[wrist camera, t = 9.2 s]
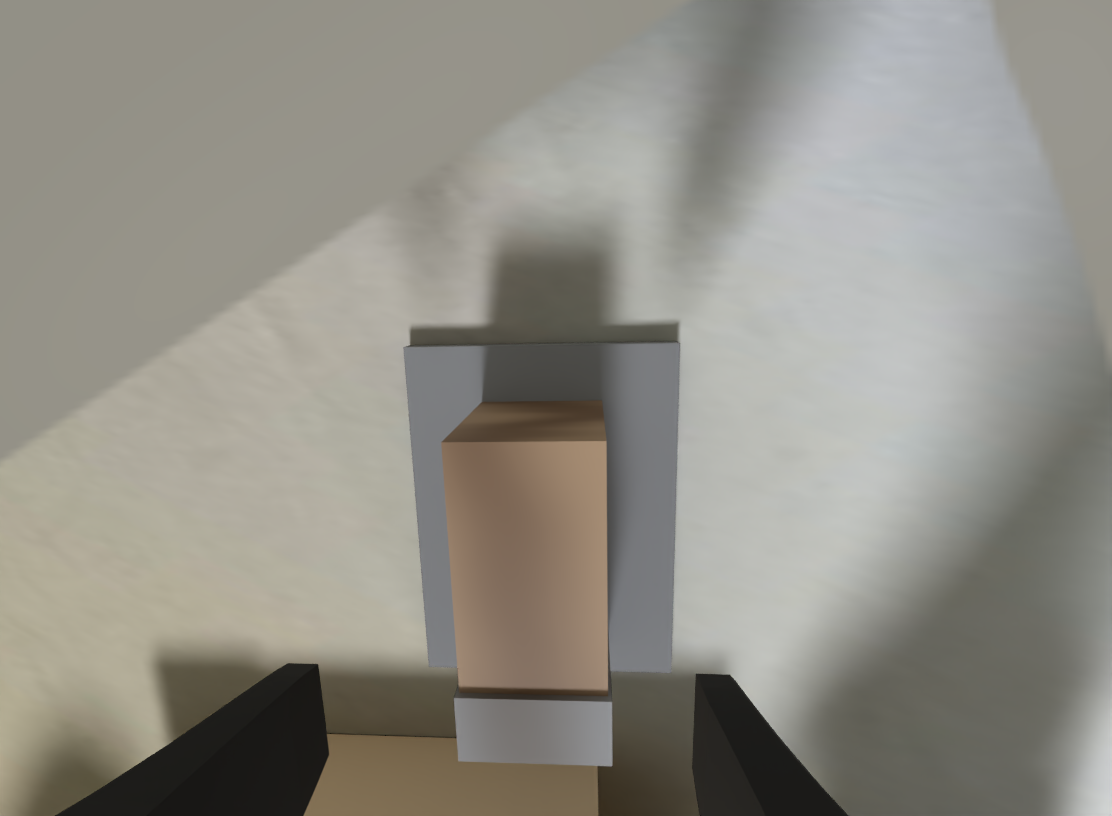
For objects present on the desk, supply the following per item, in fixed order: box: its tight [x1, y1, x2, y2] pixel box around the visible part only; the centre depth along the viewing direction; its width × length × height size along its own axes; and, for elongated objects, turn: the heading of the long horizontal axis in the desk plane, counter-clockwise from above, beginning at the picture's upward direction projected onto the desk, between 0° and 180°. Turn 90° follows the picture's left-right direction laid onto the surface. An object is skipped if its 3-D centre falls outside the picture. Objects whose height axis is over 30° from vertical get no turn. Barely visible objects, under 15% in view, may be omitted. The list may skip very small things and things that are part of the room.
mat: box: [404, 341, 680, 673], centre depth 19 cm, size 9×12×1 cm
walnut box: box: [441, 400, 612, 766], centre depth 16 cm, size 4×9×5 cm, turn 1°
